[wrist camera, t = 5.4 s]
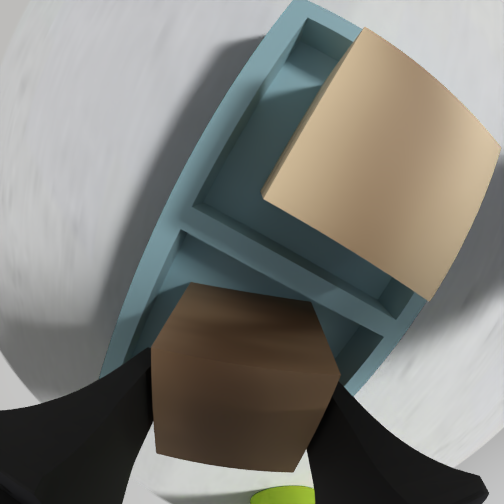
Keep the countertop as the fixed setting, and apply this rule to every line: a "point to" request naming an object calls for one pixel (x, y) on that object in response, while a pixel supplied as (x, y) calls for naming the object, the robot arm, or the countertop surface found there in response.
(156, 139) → the countertop surface
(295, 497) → the soap dispenser
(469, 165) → the oak twin block
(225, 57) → the countertop surface
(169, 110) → the countertop surface
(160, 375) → the walnut block
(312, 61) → the caddy
